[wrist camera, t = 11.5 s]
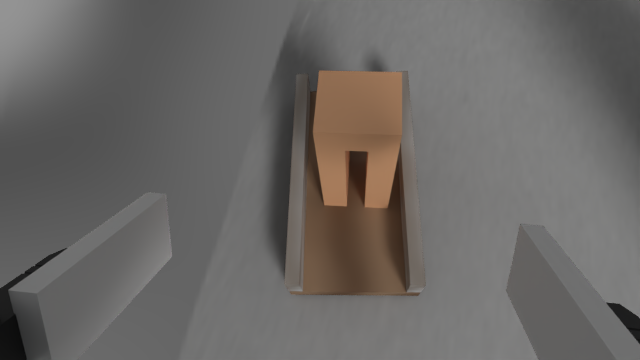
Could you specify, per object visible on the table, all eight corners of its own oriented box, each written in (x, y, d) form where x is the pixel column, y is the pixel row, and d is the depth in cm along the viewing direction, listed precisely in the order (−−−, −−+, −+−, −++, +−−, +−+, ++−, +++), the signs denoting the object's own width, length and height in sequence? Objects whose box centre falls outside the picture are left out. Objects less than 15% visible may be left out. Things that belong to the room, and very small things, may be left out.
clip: (388, 159, 36) (401, 72, 26) (387, 208, 34) (402, 135, 24) (328, 156, 36) (319, 70, 26) (324, 205, 34) (312, 132, 24)
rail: (403, 97, 40) (407, 70, 36) (418, 295, 32) (425, 285, 28) (300, 99, 40) (296, 74, 37) (291, 294, 32) (284, 284, 29)
